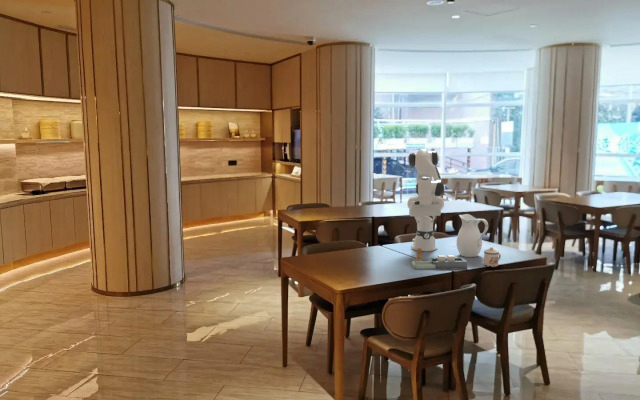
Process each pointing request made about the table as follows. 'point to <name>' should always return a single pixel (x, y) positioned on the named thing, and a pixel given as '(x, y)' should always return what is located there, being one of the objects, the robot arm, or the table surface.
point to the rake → (419, 254)
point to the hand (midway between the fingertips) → (425, 223)
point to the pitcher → (470, 236)
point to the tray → (423, 265)
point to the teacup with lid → (491, 257)
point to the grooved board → (450, 263)
